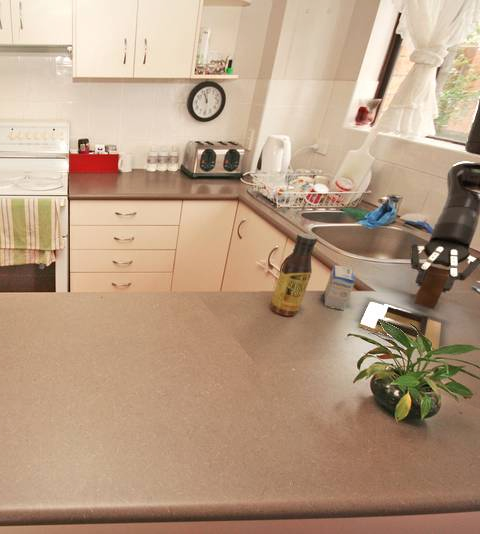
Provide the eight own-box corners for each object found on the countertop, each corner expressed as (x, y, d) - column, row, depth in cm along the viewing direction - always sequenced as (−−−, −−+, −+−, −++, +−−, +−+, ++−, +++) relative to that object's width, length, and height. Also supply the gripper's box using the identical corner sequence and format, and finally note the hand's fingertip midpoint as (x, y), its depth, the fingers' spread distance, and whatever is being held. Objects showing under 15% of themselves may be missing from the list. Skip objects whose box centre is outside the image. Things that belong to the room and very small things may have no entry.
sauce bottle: (279, 318, 92) (302, 241, 84) (264, 305, 98) (284, 231, 89) (304, 316, 93) (329, 240, 85) (287, 303, 99) (309, 230, 90)
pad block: (435, 301, 98) (449, 270, 94) (433, 309, 95) (449, 276, 91) (415, 296, 101) (428, 265, 97) (413, 303, 97) (427, 271, 93)
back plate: (439, 326, 91) (444, 317, 90) (436, 353, 81) (441, 343, 80) (368, 304, 99) (372, 296, 98) (358, 327, 90) (362, 317, 89)
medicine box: (323, 293, 104) (333, 264, 100) (342, 298, 102) (353, 268, 98) (323, 306, 98) (334, 275, 94) (344, 311, 96) (355, 280, 92)
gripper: (421, 215, 99) (398, 272, 96) (499, 228, 90) (476, 292, 87) (415, 230, 104) (393, 284, 101) (487, 243, 96) (466, 303, 93)
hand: (431, 287), depth 94 cm, fingers closed on pad block, 4 cm apart
